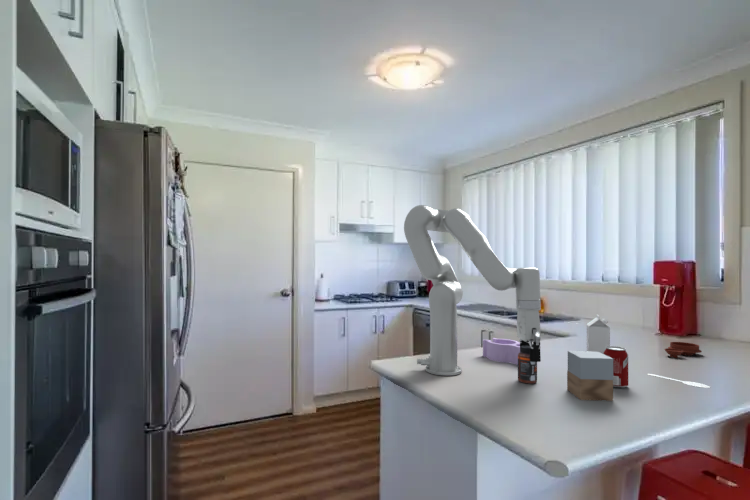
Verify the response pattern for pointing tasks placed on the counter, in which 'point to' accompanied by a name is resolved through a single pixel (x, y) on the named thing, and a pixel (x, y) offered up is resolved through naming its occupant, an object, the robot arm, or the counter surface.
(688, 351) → the pottery
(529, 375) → the supplement bottle
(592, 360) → the tower top block
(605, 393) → the tower base block
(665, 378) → the spoon
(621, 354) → the soda can
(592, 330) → the milk carton
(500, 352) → the clip
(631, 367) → the counter surface
